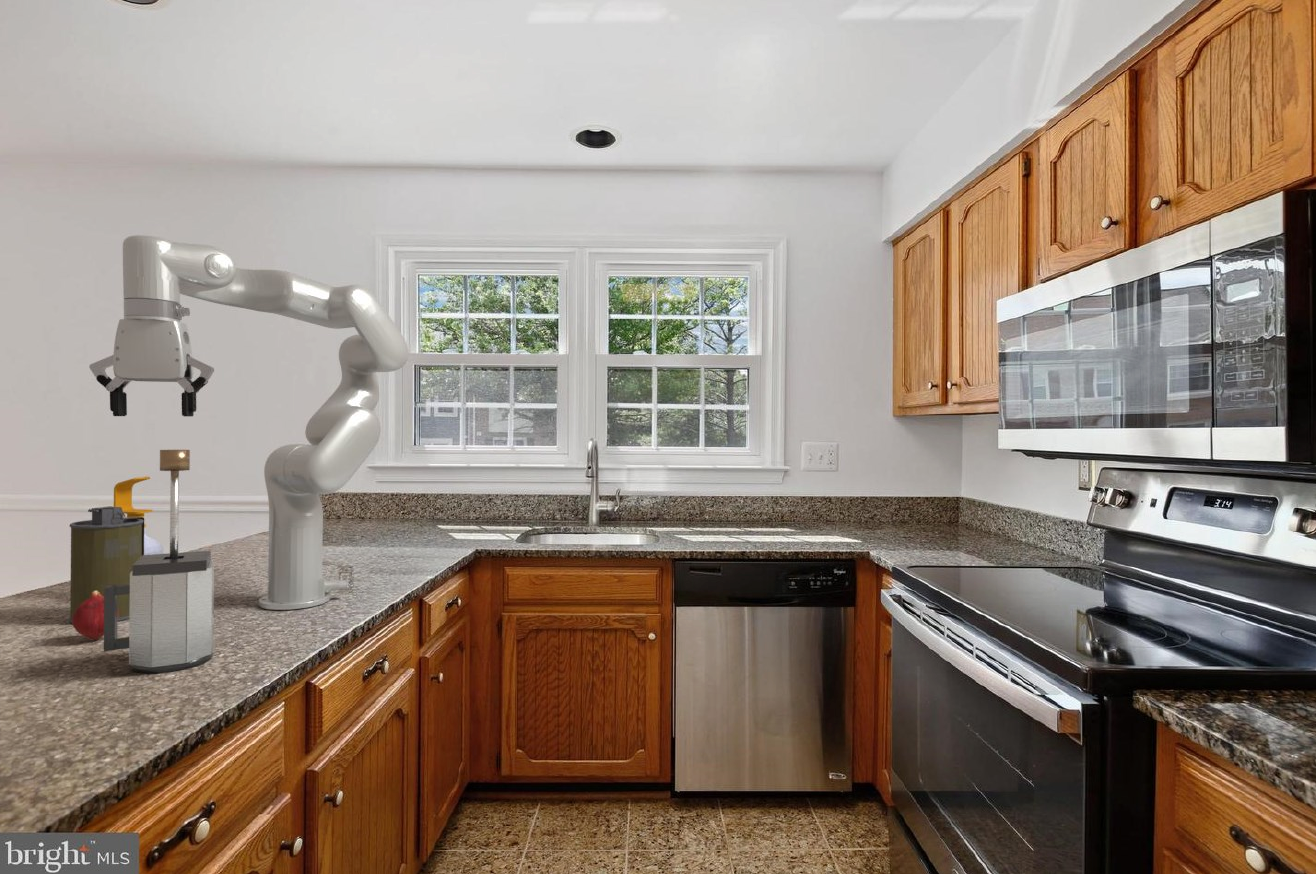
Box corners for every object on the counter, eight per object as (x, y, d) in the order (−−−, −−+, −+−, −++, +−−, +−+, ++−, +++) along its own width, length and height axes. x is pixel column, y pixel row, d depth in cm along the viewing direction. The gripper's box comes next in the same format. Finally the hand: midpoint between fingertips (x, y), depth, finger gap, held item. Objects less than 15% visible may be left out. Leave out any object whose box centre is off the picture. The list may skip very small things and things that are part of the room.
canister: (92, 627, 116) (93, 512, 115) (54, 621, 119) (55, 508, 119) (158, 612, 126) (159, 505, 126) (121, 606, 129) (122, 503, 129)
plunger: (202, 574, 104) (203, 449, 104) (198, 583, 98) (199, 450, 98) (149, 579, 101) (150, 449, 101) (142, 588, 95) (143, 450, 95)
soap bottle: (139, 604, 131) (140, 478, 131) (93, 603, 131) (94, 478, 131) (173, 593, 140) (174, 475, 140) (130, 592, 140) (131, 475, 140)
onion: (127, 637, 111) (127, 588, 111) (87, 647, 106) (88, 596, 106) (103, 633, 113) (103, 585, 113) (63, 643, 107) (64, 593, 107)
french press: (214, 647, 106) (215, 549, 106) (210, 666, 98) (211, 560, 98) (111, 660, 100) (112, 556, 100) (97, 681, 92) (98, 568, 91)
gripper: (219, 318, 118) (221, 416, 118) (101, 314, 113) (103, 416, 113) (204, 312, 111) (206, 416, 111) (77, 307, 106) (79, 416, 106)
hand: (154, 416), depth 112 cm, fingers open, 9 cm apart
